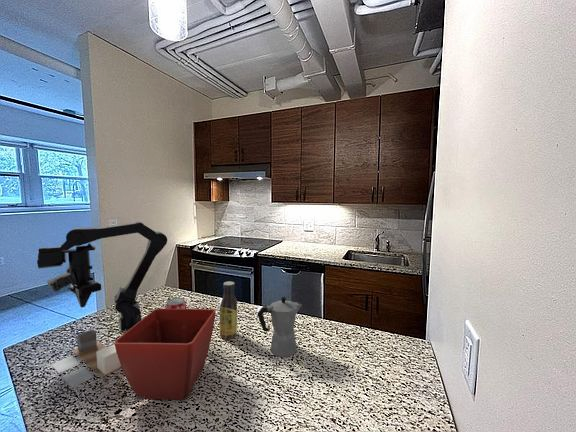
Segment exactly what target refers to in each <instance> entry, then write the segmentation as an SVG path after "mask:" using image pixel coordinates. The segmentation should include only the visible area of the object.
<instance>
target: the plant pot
mask: <svg viewBox="0 0 576 432" xmlns="http://www.w3.org/2000/svg"><path fill="white" fill-rule="evenodd" d="M215 320H216V309H215V308H187V309H165V308H155V309H153V310H152V311H151V312H150V313H148V314H147V315H146V316H144V317H143V318H141V321H140V322H138V323H137V324H136V325H134V326H133V327H132V328H131V329H127V331H125V333H123V334H122V335H121V336H119V337H118V338H116V340H114V341H113V342H114V343H113V344H115V348H116V352H117V355H118V358H119V362H120V364H121V369H122V372H123V374H124V377H125V378H126V380H127V382H128V384H129V386H130V388H131V389H132V391H133V392H134V395H135V396H136V397H138V398H142V399H143V400H169V401H170V400H172V401H177V400H178V401H179V400H181V401H182V400H183V401H184V400H185V399H187V398H188V397H189V395H190V394H191V392H192V390H193V388H194V386H195V385H196V382H197V381H198V379H199V377H200V375H201V373H202V371H203V370H204V368H205V364H206V361H207V357H208V354H209V351H210V350H209V349H210V345H211V341H212V338H213V331H214V325H215Z"/></svg>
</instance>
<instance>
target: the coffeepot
mask: <svg viewBox="0 0 576 432" xmlns="http://www.w3.org/2000/svg"><path fill="white" fill-rule="evenodd" d="M286 298H287V297H286V296H281V299H280V300H277V301H274V302H272V303H270V305H267V306H261V308H260V309H259V310H258V312H257V318H258V320H259V323H260V326H261V328H262V331H263V332H269V331H270V330H271V328H270V327H267V323H266V321H265V317H264V314H265V313H268V314H269V313H270V316H271V324H272V327H273V331H272V336H271V337H272V338H271V345H270V350H269V351H270V353H271V354H273V355H274V356H276V357H280V358H286V357H292V356H293V355H295V353H297V341H296V340H297V339H296V335H295V324H296V323H295V322H296V317H297V316H296V315H297V313H298V312H299V310H300V308H301V307H302V306H303V304H302V303H301V302H295V301H291V300H287V299H286Z"/></svg>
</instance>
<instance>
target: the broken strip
mask: <svg viewBox="0 0 576 432" xmlns="http://www.w3.org/2000/svg"><path fill="white" fill-rule="evenodd" d="M80 364H81V363H80V361H78V360H77V359H76V358H75V357H74V356H73V355H70V356H68V357H64V358H63V359H60V360H58V361H55V362H53V363H50V365H51V367H52V368H53V369H54V370H55V371H56V372H57V373H58V374H61V373H63V372H66V371H67V370H70V369H72V368H74V367H76V366H78V365H80ZM61 378H62V379H63V380H64V381H65V382H66V383H67V384H68V386H69V387H70V388H71V389H72V388H75V387H77V386H79V385H81V384H83V383H84V382H87V381H89V380H91V379H93V378H95V376H94V374H92V373H91V371H89V370H88V369H87V368H85V366H82V367H80V368H78V369H76V370H74V371H71V372H69V373H67V374H64V375H62V376H61Z"/></svg>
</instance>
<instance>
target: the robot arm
mask: <svg viewBox="0 0 576 432" xmlns="http://www.w3.org/2000/svg"><path fill="white" fill-rule="evenodd" d="M130 234H139V235H141V236H143V237H144V238H145V239H147V244H146V247H145V251H144V254H143V255H142V257H141V259H140V260H139V263H138V265H137V267H136V269H135V270H134V271H133V274H132V275H131V277H130V279H129V281H128V283H127V284H126V285H125V286H124V288H123V287H119V288H118V291H117V293H116V294H115V295H114V309H115V310H116V312H117V313H119V315H120V317H119V318H118V325H119V327H118V328H119V329H120V330H121V331H123V330H129V329H131V328H132V327H133V326H134V325H136V324H137V323H138V322H140V321H141V320H142V311H141V307H140V304H139V301H137V300H136V299H137V294H138V290H139V288H140V286H141V284H142V282H143V280H144V279H145V276H146V274H147V273H148V271H149V269H150V268H151V266H152V263H153V262H154V260H155V258H156V256H157V255H158V254H160V252H161V251H162V250H163V249H164V248H165V246H166V245H167V243H168V238H167V236H166V234H164V233H163V232H161V231H155V230H154V229H152V228H150V227H148V226H147V225H146V224H144V223H143V221H142V222H141V221H136V222H131V223H124V224H117V225H109V226H104V227H103V226H102V227H84V226H83V227H79V226H77V227H74V228H72V229H70V231H68V232H67V234H66V236H65V241H64V242H62V243H61V245H60V246H50V247H48V246H45V247H44V246H43V247H39V248H38V254H37V259H36V263H37V268H38V269H39V270H41V269H48V268H49V269H50V268H56V267H62V266H63V264H65V263H67V260H68V267H67V268H66V269H65V271H66V272H64V273H62V274H60V275H59V274H58V275H57V276H55V277H53V278H50V279H49V280H47V281H46V283H47V284H48V286H49V288H50V289H51V290H52V291H53V292H59V291H60V290H62V289H63V288H65V287H67V286H69V285H70V287H68V288H67V289H68V290H69V292H71V293H73V294H74V295H75V297H76V300H77V302H78V305H79V307H80V308H85V307H86V305H87V304H88V301H89V299H90V297H91V295H92V293H96V292H99V291H102V284H101V283H100V282H97V281H96V280H94V277H93V276H92V271H91V270H92V269H93V265H91V260H90V259H91V258H90V251H95V250H96V249H97V247H96V246H95V245H93V244H92V242H94V241H98V240H101V239H106V238H112V237H120V236H126V235H130ZM73 247H75V248H73ZM72 248H73V249H72ZM67 256H68V257H67Z"/></svg>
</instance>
